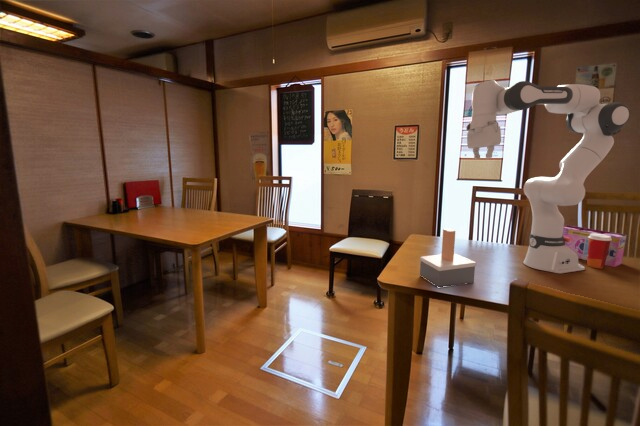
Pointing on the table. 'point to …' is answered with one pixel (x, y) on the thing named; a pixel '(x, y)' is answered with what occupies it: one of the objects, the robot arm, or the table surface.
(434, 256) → the lid
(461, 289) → the table surface
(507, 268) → the table surface
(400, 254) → the table surface
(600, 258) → the paper cup
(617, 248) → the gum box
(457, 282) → the parts tub
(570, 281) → the table surface
